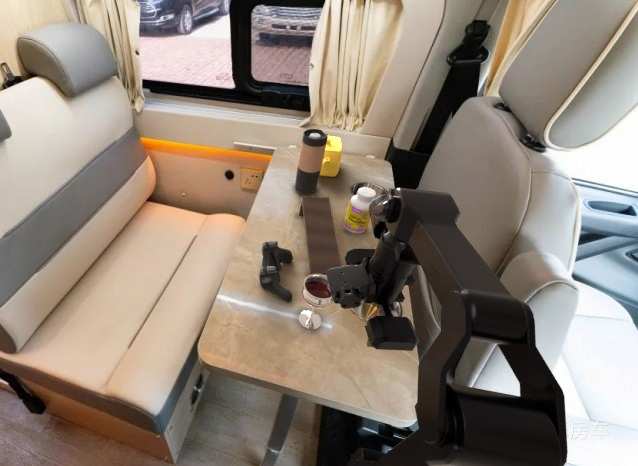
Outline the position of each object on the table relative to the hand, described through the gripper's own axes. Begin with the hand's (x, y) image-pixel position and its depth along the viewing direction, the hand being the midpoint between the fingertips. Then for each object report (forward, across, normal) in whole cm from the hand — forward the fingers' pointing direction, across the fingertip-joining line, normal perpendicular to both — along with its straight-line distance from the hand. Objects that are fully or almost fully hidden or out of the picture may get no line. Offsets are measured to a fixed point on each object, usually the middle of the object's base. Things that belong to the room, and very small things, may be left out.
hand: (362, 322), depth 59 cm
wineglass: (+13, -9, -6) cm, 17 cm away
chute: (+13, -35, 0) cm, 37 cm away
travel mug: (+13, -62, 0) cm, 63 cm away
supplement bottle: (+13, -42, +12) cm, 46 cm away
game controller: (+13, -21, -13) cm, 28 cm away
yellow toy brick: (+13, -76, +8) cm, 78 cm away
